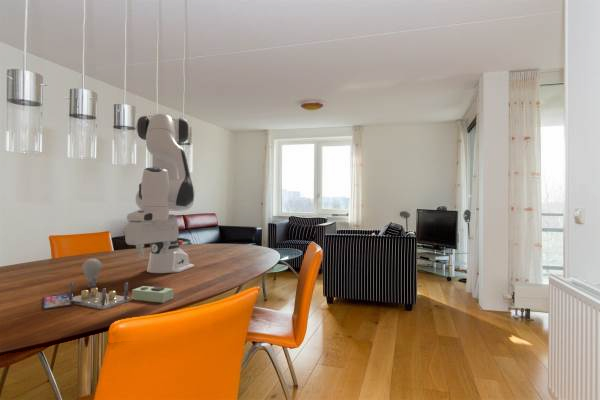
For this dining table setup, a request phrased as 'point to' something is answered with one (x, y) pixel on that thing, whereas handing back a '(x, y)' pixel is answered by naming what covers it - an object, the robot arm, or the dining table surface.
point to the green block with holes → (152, 294)
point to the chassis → (98, 297)
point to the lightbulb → (91, 270)
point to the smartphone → (56, 302)
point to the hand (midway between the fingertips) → (153, 255)
